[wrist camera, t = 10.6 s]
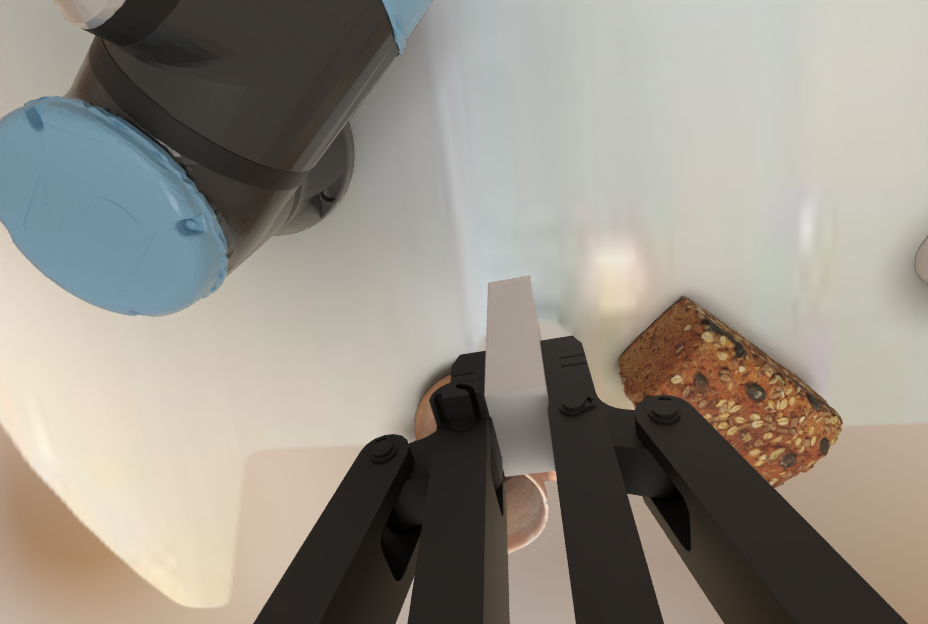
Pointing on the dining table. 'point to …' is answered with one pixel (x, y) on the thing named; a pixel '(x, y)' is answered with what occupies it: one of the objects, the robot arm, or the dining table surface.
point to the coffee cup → (922, 261)
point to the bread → (732, 390)
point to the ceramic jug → (521, 490)
